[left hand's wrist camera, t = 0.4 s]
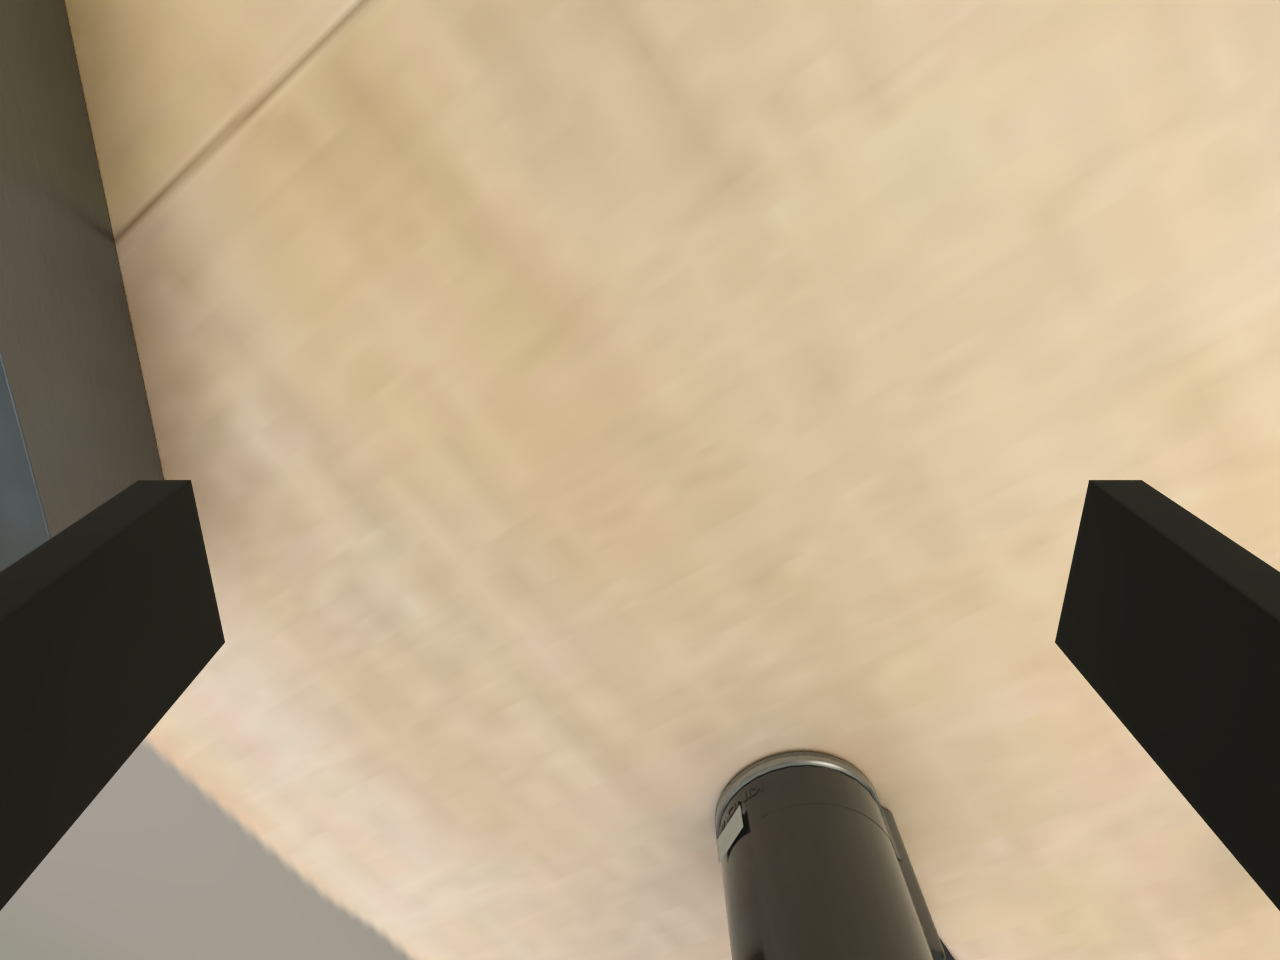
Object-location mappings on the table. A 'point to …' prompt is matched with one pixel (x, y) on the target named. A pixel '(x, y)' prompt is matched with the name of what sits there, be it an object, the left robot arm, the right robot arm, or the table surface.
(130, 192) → the table surface
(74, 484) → the bar
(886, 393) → the table surface
